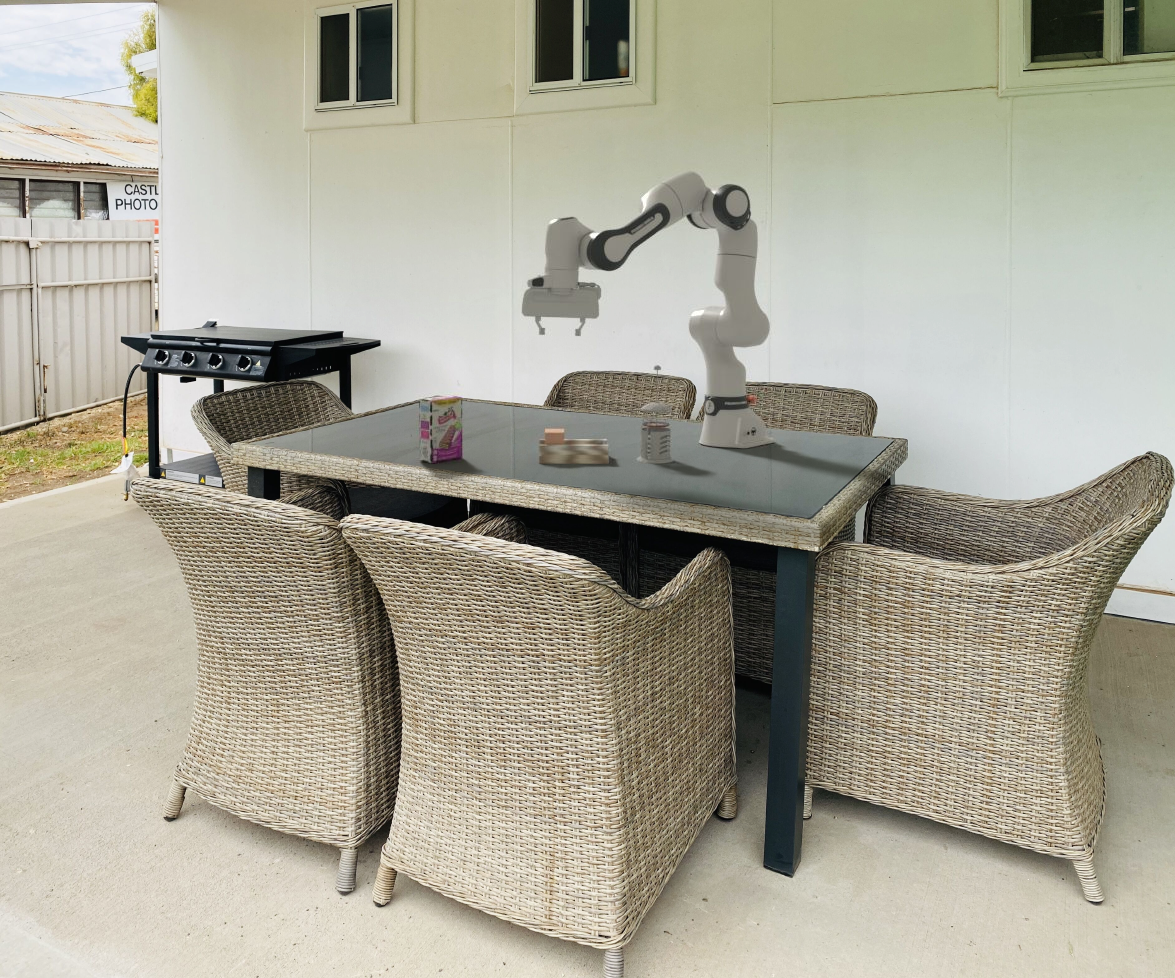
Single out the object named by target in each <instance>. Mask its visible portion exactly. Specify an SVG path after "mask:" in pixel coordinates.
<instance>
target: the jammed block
mask: <svg viewBox="0 0 1175 978" xmlns="http://www.w3.org/2000/svg"><path fill="white" fill-rule="evenodd" d="M544 439H545V445H564V439H565V428H544Z"/></svg>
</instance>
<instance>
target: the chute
mask: <svg viewBox="0 0 1175 978" xmlns="http://www.w3.org/2000/svg"><path fill="white" fill-rule="evenodd" d="M538 441H539V447H538V448H539V449H538V452H539V454H538V460H539V461H538V462H539V464H542V465H543V464H544V465H545V464H555V465H556V464H563V465H564V464H565V465H566V464H568V465H569V464H576V465H577V464H580V465H581V464H590V465H591V464H592V465H593V464H594V465H597V464H603V465H604V464H605V465H607V464H608V465H609V463H610V460H609V459H610V455H609V453H610V452H609V448H610V447H609V444H608V439H607V438H603V439H600V438H599V439H594V438H593V439H592V438H591V439H590V438H589V439H587V438H585V439H583V438H582V439H581V438H579V439H578V438H575V439H573V438H564V445H545V438H540V439H539V440H538Z"/></svg>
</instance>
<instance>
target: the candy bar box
mask: <svg viewBox="0 0 1175 978" xmlns="http://www.w3.org/2000/svg"><path fill="white" fill-rule="evenodd" d="M418 409H419V413H418V414H419V417H418V418H419V420H418V422H419V462H423V463H428V464H435V463H441V462H446V461H447V462H448V461H451V460H452V461H454V460H457V459H461V458H463V397H462V396H457V395H442V396H434V397H425V398H424V397H423V398H419V399H418Z"/></svg>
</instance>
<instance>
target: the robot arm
mask: <svg viewBox="0 0 1175 978" xmlns="http://www.w3.org/2000/svg"><path fill="white" fill-rule="evenodd" d="M749 196H750V195H748V193H747V191H746V190H745V188H743V187H742V186H740V185H737V184H732V183H727V184H724V185H722V184H721V185H714V186H710V187H707V185H706V183H705V181H704V180H703V178H702V176H701V175H700V174H698V173H697V172H695V171H691V170H685V171H683V172H680V173H678V174H675V175H672V176H671V177H669V178H666V179H665V180H663V181H662V182H660V183H658V184H657V185H655V186H654V187H652V188H651V189H649V190H647V192H646V193H645V194H644V195H643V196H642V197H641V198H640V201H639V205H638V206H639V207H638V208H639V210H638V211H639V214H638V215H637V216H636V217H633V218H632V219H631V220H630V221H628V222H626V223H625V224H623V225H622V226H621V227H619V228H616V229H606V230H602V231H595V230H593V229H591V228H590V227H588V226H586V225H585V224H583V223H582V222H580V221H579V219H578V218H577V217H575V216H567V217H566V216H565V217H559V218H554V219H552V220H551V221H549V222H548V224H547V227H546V228H547V229H546V233H545V242H544V243H545V245H544V253H545V258H546V259H545V261H546V262H545V266H544V273H543V274H542V275H539V274H538V275H537V276H535V277H531V278H529V279H527V282H526V285H527V287H528V288H527V289H526V290H525V291H524V293H523V297H522V305H521V313H522V315H523V317H534V321H535V324H536V325H537V328H538V335H540V336H545V335H546V328H545V327H542V325H541V323H540V322H541V321H542V318H567V319H569V318H570V319H579V323H581V324H580V326H579V327H578V328H575V329H574V332H575V334H574V336H575V337H581V336H582V329H583V327H584V326H585V324H586V319H592V320H593V319H597V318H598V317H599V316H600V305H599V301H600V299H601V298H602V288H601V286H600V285H599V284H596V282H593V281H592V282H585V281H579V275H580V273H579V272H580V271H579V268H583V269H585V270H589V271H591V270H593V271H594V270H595V271H596V270H597V271H606V272H612V271H616V270H618V269H619V268H621V267H622V266H623V265H624V264H625V263H626V261H627V260H628V258H629V257H630V255H631V254H632V253H633V251H634V250H635V249H637V248H638V247H639V246H640V245H642V244H643V243H644V242H646V241H647V240H649V239H650V238H652V237H653V236H654V235H655V234H657V233H658V232H660V231H662V230H666V229H668V228H669V227H671V226H673V225H675V224H676V223H679V221H681V220H682V219H684V218H687V221H688V222H689V223H690V224H691V225H692V226H693V227H695V228H697V229H700V230H701V229H702V230H708V229H714V230H715V229H716V232H717V235H718V247H717V255H716V263H715V271H714V272H715V273H714V278H713V280H714V281H713V282H714V285H715V287H716V288H717V289H718V290H719V291H720V292H721V293H722V294H723V297H724V299H725V300H724V302H725V306H718V305H717V306H716V305H714V306H713V305H711V306H705V307H700V308H697V309H696V310H695V311H693V313H692V314H691V316H690V318H689V321H688V332H689V334H690V336H691V338H692V339H693V340H694V341H695V342H696V343H697V345H698V346H699V348H700V350H701V353H702V356H703V359H704V362H705V367H706V368H705V369H706V370H705V371H706V391H705V392H706V393H705V394H704V404H703V406H704V416H703V423H702V429H701V434H700V438H699V441H698V443H699V444H700V445H701V444H702V445H704V446H710V447H718V448H735V449H737V448H738V449H748V448H755V447H759V446H761V445H762V446H763V445H767V444H772V443H774V442H775V440H774V438H772V437H771V436H767V426H766V424H765V421H764V420H763V418H761V417H760V416H759V415H758V414H756V413H755V412H754V411H753V410H752V409H751V408H750V404H756V402H757V398H756V396H752V395H749V396H747V394H746V379H747V370H746V367H745V365H744V364H743V363H742V362H741V361H740V360H739V359H738V358H737V355H736V354H735V351H734V348H735V347H736V348H745V349H746V348H753V347H758V346H761V345H763V344H764V342H766V340H767V338H768V336H769V334H770V329H771V325H770V321H769V318H768V316H767V314H766V313H765V312H764V311H763V310H762V308H761V307H760V305H759V303H758V300H757V296H756V290H755V277H756V266H757V258H758V246H759V244H758V241H759V239H758V235H759V234H758V226H757V223H756V222H755V221H754V220H753V219H752V218H751V216H752V212H751V200H750V197H749Z"/></svg>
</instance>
